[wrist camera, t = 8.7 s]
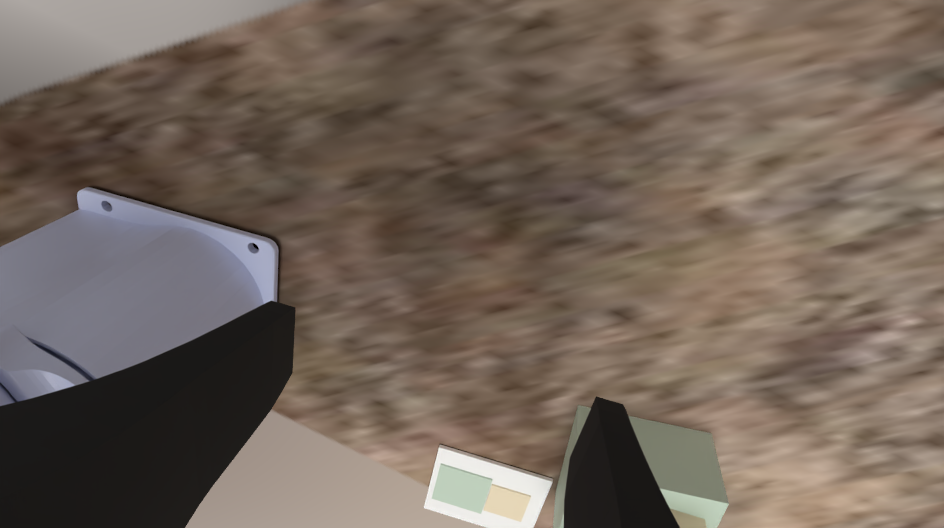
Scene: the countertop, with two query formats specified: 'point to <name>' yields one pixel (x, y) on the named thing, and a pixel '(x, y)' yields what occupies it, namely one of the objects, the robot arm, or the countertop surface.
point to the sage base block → (667, 468)
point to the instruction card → (485, 490)
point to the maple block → (688, 520)
